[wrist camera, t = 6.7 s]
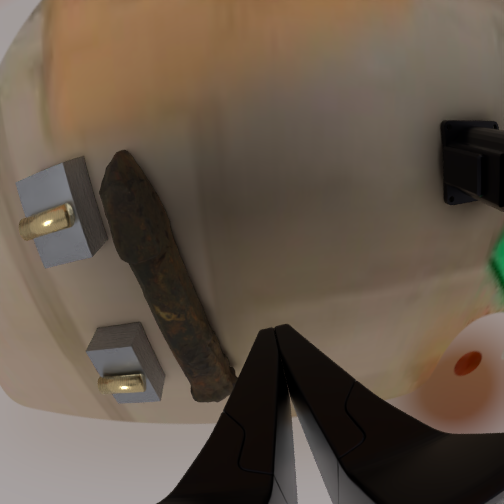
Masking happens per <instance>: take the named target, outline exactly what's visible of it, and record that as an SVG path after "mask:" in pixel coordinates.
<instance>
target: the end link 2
mask: <svg viewBox="0 0 504 504" xmlns="http://www.w3.org/2000/svg"><path fill="white" fill-rule="evenodd" d="M86 353H87V354H88V356H89V358H90V360H91V361H92V363H93V365H94V366H95V368H96V370H97V371H98V373H99V374H100V376H101V377H99V379H98V388H99V391H100V392H101V393H102V394H112V395H113V396H114V398H115V399H116V401H117V402H118V403H139V402H155V401H161V397H162V391H163V385H164V380H165V374H164V372H163V370H162V368H161V366H160V364H159V362H158V360H157V358H156V356H155V354H154V352H153V350H152V348H151V345H150V343H149V341H148V339H147V337H146V335H145V332H144V330H143V328H142V326H141V323H140V322H137V323H130V324H124V325H117V326H110V327H102V328H97V330H96V332H95V334H94V336H93V338H92V340H91V342H90V344H89V346H88V348H87V350H86Z"/></svg>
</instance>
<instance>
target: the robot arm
mask: <svg viewBox="0 0 504 504" xmlns="http://www.w3.org/2000/svg"><path fill="white" fill-rule="evenodd" d="M447 125H448V126H449V129H447ZM493 126H494V129H493ZM441 129H442V142H443V161H444V201H445V203H447V204H449V205H456V204H462V203H467V202H472V201H478V200H479V201H481V202H483V203H485V204H487V205H490V206H492V207H494V208H496V209H498V210H500V211H502V212H504V131H502V130H499V127H498V124H497V123H496V122H495V121H471V120H445V121H443V122H442V124H441ZM450 197H451V200H449V199H450ZM274 330H275V331H274ZM277 343H278V344H277ZM281 360H282V361H281ZM284 373H285V374H284ZM285 377H286V378H285ZM287 386H288V387H287ZM288 390H289V391H288ZM289 394H290V396H289ZM290 397H291V400H292V403H293V405H294V408H295V411H296V413H297V416H298V418H299V421H300V423H301V426H302V428H303V431H304V433H305V436H306V438H307V441H308V444H309V446H310V449H311V451H312V453H313V456H314V459H315V461H316V464H317V466H318V468H319V471H320V473H321V476H322V478H323V481H324V483H325V486H326V488H327V490H328V493H329V495H330V498H331V500H332V503H333V504H504V433H486V434H451V433H445V432H442V431H439V430H436V429H434V428H432V427H430V426H428V425H426V424H424V423H422V422H420V421H419V420H417V419H415V418H413V417H412V416H410V415H408V414H406V413H404V412H403V411H401V410H399V409H397V408H396V407H394V406H392V405H391V404H389V403H387V402H386V401H384V400H383V399H381V398H379V397H378V396H377V395H375V394H374V393H373V392H371V391H370V390H368V389H367V388H366V387H365V386H363V385H362V384H361V383H360V382H358V381H356V380H355V379H354V378H353V377H352V376H351V375H349V374H348V373H347V372H346V371H345V370H343V369H342V368H341V367H340V366H338V365H337V364H336V363H335V362H333V361H332V360H331V359H330V358H329V357H327V356H326V355H325V354H324V353H322V352H321V351H320V350H319V349H318V348H316V347H315V346H314V345H313V344H312V343H310V342H309V341H308V340H307V339H306V338H304V337H303V336H302V335H301V334H300V333H298V332H297V331H296V330H295V329H294V328H292V327H291V326H290V325H289V324H283V325H279V326H276V327H275V328H272V327H271V328H267V329H262V330H260V331H259V333H258V335H257V337H256V339H255V342H254V344H253V346H252V348H251V351H250V353H249V355H248V357H247V360H246V362H245V364H244V366H243V368H242V371H241V373H240V375H239V377H238V379H237V382H236V384H235V386H234V388H233V390H232V392H231V395H230V397H229V399H228V401H227V403H226V405H225V407H224V410H223V412H222V413H221V416H220V418H219V420H218V422H217V424H216V426H215V428H214V430H213V432H212V433H211V435H210V437H209V439H208V440H207V442H206V444H205V445H204V447H203V448H202V450H201V452H200V453H199V454H198V456H197V458H196V459H195V460H194V462H193V463H192V465H191V466H190V467H189V469H188V470H187V472H186V473H185V475H184V476H183V478H182V479H181V480H180V482H179V483H178V485H177V486H176V487H175V488H174V490H173V491H172V492H171V493H170V494H169V495H168V496H167V497H166V498H164V499H163V500H162V501H160V502H159V503H157V504H297V503H298V502H297V486H296V472H295V457H294V444H293V430H292V417H291V405H290Z"/></svg>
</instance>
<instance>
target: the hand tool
mask: <svg viewBox="0 0 504 504" xmlns="http://www.w3.org/2000/svg"><path fill="white" fill-rule="evenodd" d="M99 194H100V197H101V200H102V203H103V207H104V211H105V215H106V217H107V219H108V223H109V227H110V230H111V234H112V238H113V242H114V245H115V248H116V251H117V252H118V254H119V256H120V258H121V259H122V260H123V261H125V262H128V263H129V265H130V267H131V268H132V271H133V272H134V274H135V276H136V278H137V280H138V282H139V284H140V286H141V288H142V290H143V293H144V297H145V299H146V301H147V303H148V305H149V307H150V309H151V311H152V313H153V316H154V318H155V320H156V322H157V324H158V326H159V328H160V330H161V332H162V334H163V336H164V338H165V340H166V341H167V343H168V345H169V347H170V349H171V351H172V353H173V354H174V356H175V358H176V360H177V362H178V363H179V365H180V367H181V368H182V370H183V372H184V374H185V376H186V377H187V378H188V380H189V382H190V384H191V394H192V396H193V399H194V400H195V401H197V402H213V401H215V402H219V401H221V400H223V399H224V398H226V397H227V396H228V395H230V394H231V392H232V390H233V388H234V386H235V384H236V382H237V379H238V378H237V377H236V375H235V370H234V369H233V367H230V366H229V362H228V358H227V357H226V356H225V354H222V351H221V349H220V346H219V342H218V340H217V338H216V336H215V333H214V332H213V331H212V330H211V328H210V326H209V324H208V322H207V319H206V316H205V313H204V310H203V307H202V305H201V304H200V302H199V300H198V297H197V295H196V293H195V291H194V288H193V286H192V283H191V281H190V279H189V276H188V274H187V271H186V268H185V266H184V264H183V261H182V259H181V257H180V254H179V251H178V249H177V246H176V244H175V241H174V239H173V235H172V232H171V227H170V221H169V219H168V216H167V214H166V212H165V209H164V207H163V205H162V203H161V202H160V199H159V197H158V195H157V193H156V192H155V191H154V189H153V188H152V186H151V184H150V183H149V181H148V179H147V178H146V176H145V175H144V173H143V171H142V170H141V168H140V167H139V166H138V164H137V163H136V162H135V160H134V159H133V157H132V156H131V155H130V153H129V152H128V151H126V150H121V151H119V152H116V154H115V155H114V157H113V159H112V160H111V162H110V163H109V165H108V166H107V167H106V171H105V175H104V178H103V180H102V183H101V188H100V191H99Z"/></svg>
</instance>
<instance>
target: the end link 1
mask: <svg viewBox="0 0 504 504" xmlns="http://www.w3.org/2000/svg"><path fill="white" fill-rule="evenodd" d="M16 186H17V190H18V193H19V197H20V200H21V203H22V207H23V210H24V213H25V216H26V218H24V219H22V220H21V221H20V223H19V232H20V235H21V237H22V238H23V239H24V240H26V241H28V240H31V239H34V242H35V245H36V247H37V250H38V252H39V255H40V257H41V260H42V262H43V265H44V267H45V268H49V267H53V266H57V265H61V264H65V263H69V262H73V261H77V260H82V259H86V258H90V257H93V255H94V254H95V253H96V252H97V251H98V250H99V249H100V247H101V246H102V245H103V244H104V243H105V242H106V241H107V240H108V238H107V235H106V232H105V229H104V226H103V223H102V220H101V217H100V214H99V210H98V207H97V204H96V200H95V197H94V194H93V190H92V187H91V183H90V179H89V176H88V172H87V168H86V164H85V160H84V156H82V157H79V158H75V159H72V160H69V161H66V162H63V163H60V164H58V165H55V166H53V167H50V168H48V169H46V170H43V171H41V172H38V173H36V174H34V175H32V176H29V177H27V178H25V179H23V180H20V181H18V182H16Z"/></svg>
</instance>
